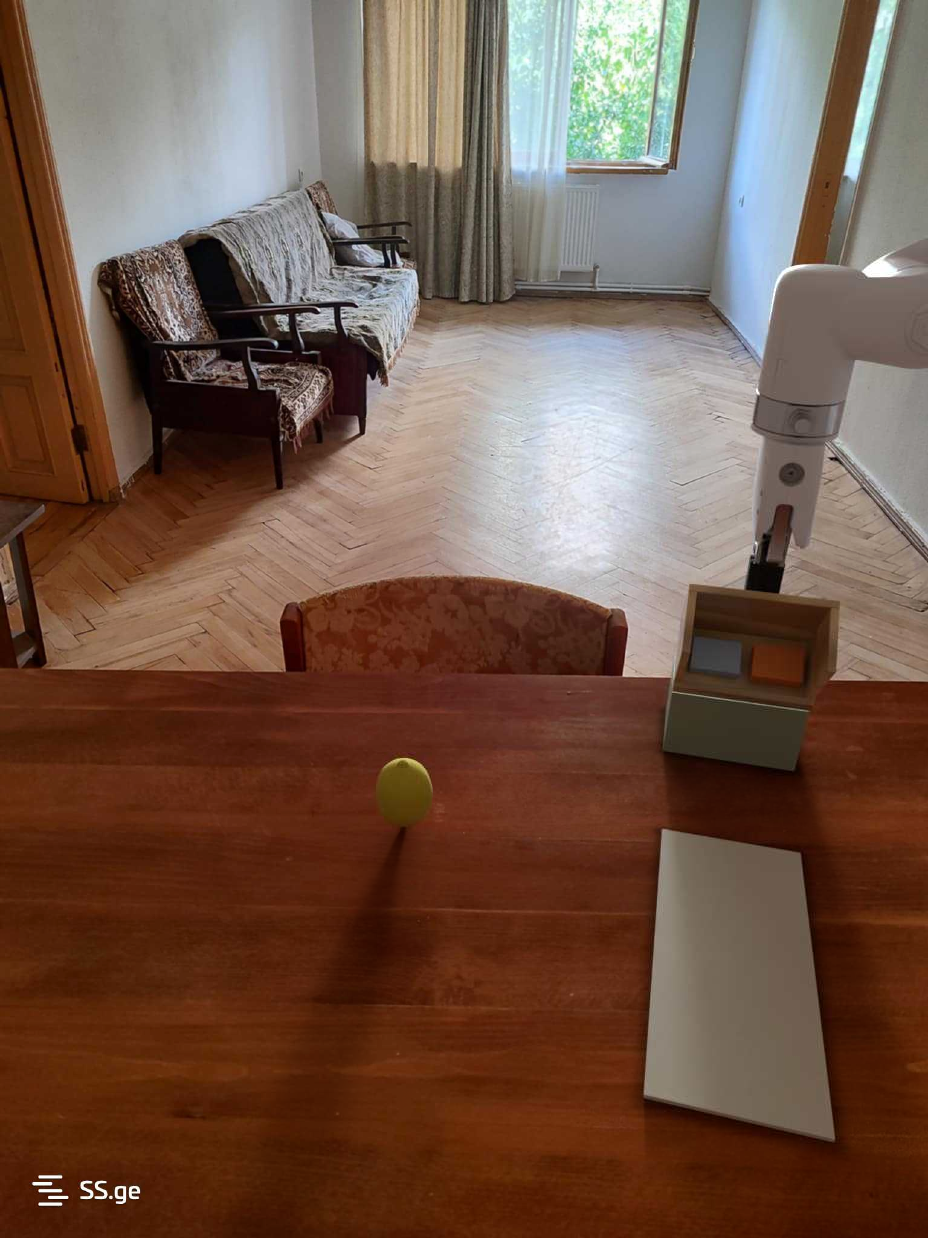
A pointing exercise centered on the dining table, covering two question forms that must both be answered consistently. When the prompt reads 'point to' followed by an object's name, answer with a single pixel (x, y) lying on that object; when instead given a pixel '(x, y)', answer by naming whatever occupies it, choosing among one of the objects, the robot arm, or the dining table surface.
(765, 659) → the packet orange
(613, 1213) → the dining table surface
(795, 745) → the grey open box
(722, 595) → the wooden open box
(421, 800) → the lemon
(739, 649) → the packet blue
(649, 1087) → the mat
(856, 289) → the robot arm
